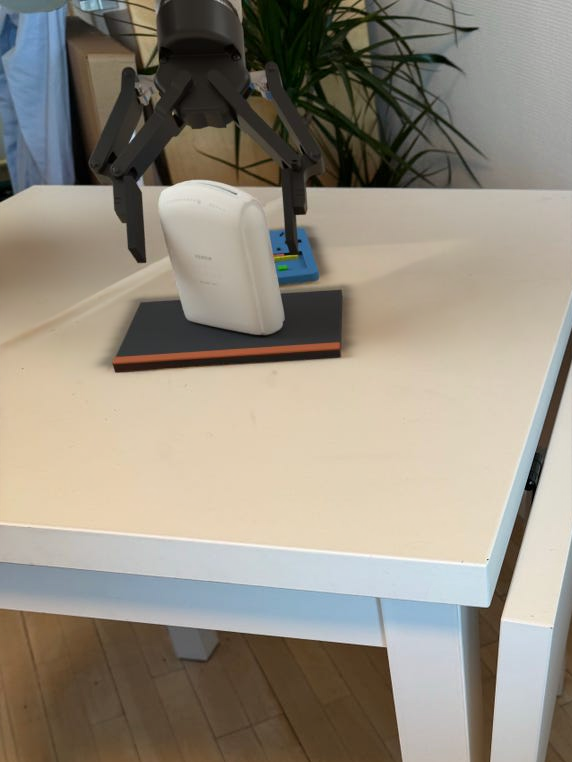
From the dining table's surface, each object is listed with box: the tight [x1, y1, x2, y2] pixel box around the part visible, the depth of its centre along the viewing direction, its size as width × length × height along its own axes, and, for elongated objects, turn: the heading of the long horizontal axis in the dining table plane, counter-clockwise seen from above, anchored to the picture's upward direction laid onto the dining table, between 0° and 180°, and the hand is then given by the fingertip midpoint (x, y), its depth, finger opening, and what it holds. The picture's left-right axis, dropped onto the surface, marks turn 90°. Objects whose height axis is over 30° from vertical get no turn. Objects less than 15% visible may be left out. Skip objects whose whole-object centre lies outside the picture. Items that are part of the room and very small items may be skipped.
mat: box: [112, 289, 344, 373], centre depth 86 cm, size 20×14×1 cm
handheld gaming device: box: [269, 227, 320, 286], centre depth 99 cm, size 8×1×15 cm
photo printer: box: [157, 179, 284, 335], centre depth 81 cm, size 10×4×12 cm, turn 62°
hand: (215, 252), depth 80 cm, fingers open, 13 cm apart
